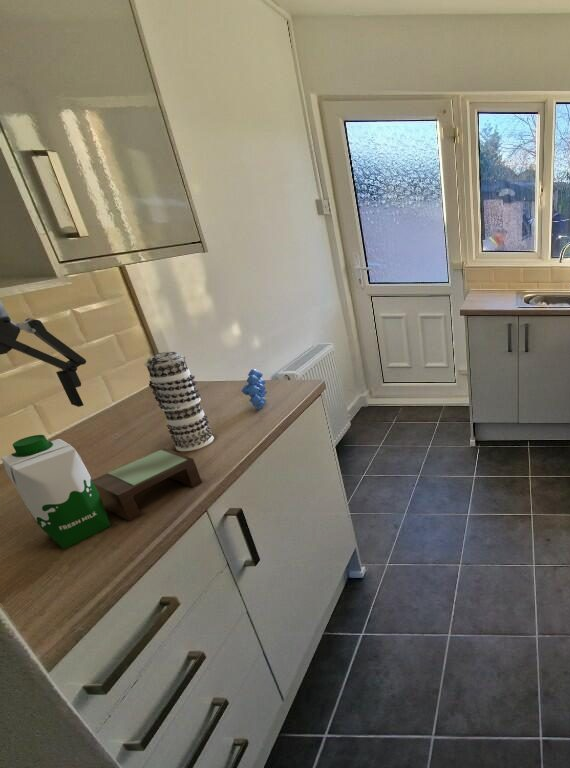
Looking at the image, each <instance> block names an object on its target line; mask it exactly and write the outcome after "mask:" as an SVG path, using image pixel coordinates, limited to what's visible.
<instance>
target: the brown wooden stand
mask: <svg viewBox="0 0 570 768" xmlns="http://www.w3.org/2000/svg"><path fill="white" fill-rule="evenodd" d="M168 478H170V479H172V480H175V481H177V482H179V483H182V484H184V485H187V486H189V487H192V488H195V487H196V486H198V485H200V484H201V483H203V481H202V478H201V476H200V473H199V471H198V468H197V465H196V461H195V460H194V457H190V456H188V455H186V454H182V453H179V452H177V451H174V450H171V449H169V448H166V447H163V448H162V449H159V450H157V451H154V452H152V453H150V454H148V455H146V456H143V457H141V458H138V459H137V460H134V461H132V462H130V463H127V464H125V465H122V466H120V467H118V468H116V469H114V470H111V471H109V472H107V473H105V474H102V475H100V476H97V477H96V478H93V479H92V481H93V483H94V485H95V487H96V489H97V491H98V493H99V495H100V497H101V500H102V502H103V505H104V508H105V510H106V511H109V512H111V513H113V514H116V515H117V516H119V517H120V518H123V519H124V520H127V521H129V522H131V521H133V520H135V519H137V518H139V517H140V516H142V513H141V511H140V509H139V507H138V505H137V502H136V500H135V499H134V495H135V494H138V493H140V492H141V491H144V490H146V489H148V488H150V487H152V486H154V485H156V484H159V483H160V482H163V481H164V480H166V479H168Z"/></svg>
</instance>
